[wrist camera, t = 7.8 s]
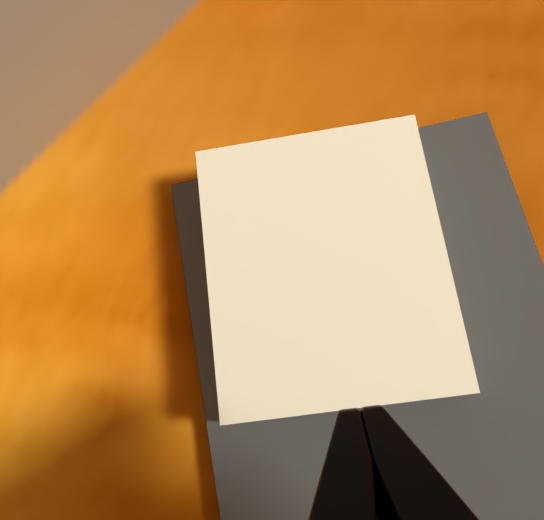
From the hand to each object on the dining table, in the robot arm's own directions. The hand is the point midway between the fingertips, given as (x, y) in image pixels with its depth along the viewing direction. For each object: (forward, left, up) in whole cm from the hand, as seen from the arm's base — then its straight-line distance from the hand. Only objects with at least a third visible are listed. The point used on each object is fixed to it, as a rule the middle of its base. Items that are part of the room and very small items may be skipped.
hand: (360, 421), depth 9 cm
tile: (0, 0, -6) cm, 6 cm away
